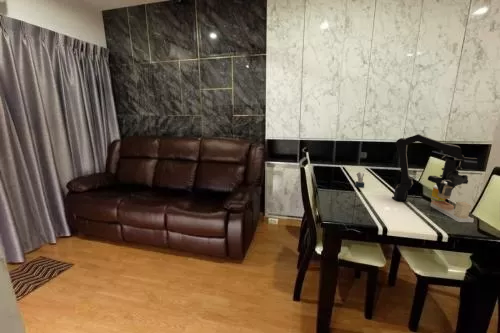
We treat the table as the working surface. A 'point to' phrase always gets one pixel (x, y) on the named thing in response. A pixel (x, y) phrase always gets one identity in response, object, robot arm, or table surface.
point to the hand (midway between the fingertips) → (444, 193)
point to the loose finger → (445, 192)
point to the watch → (360, 180)
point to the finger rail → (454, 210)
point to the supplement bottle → (435, 193)
